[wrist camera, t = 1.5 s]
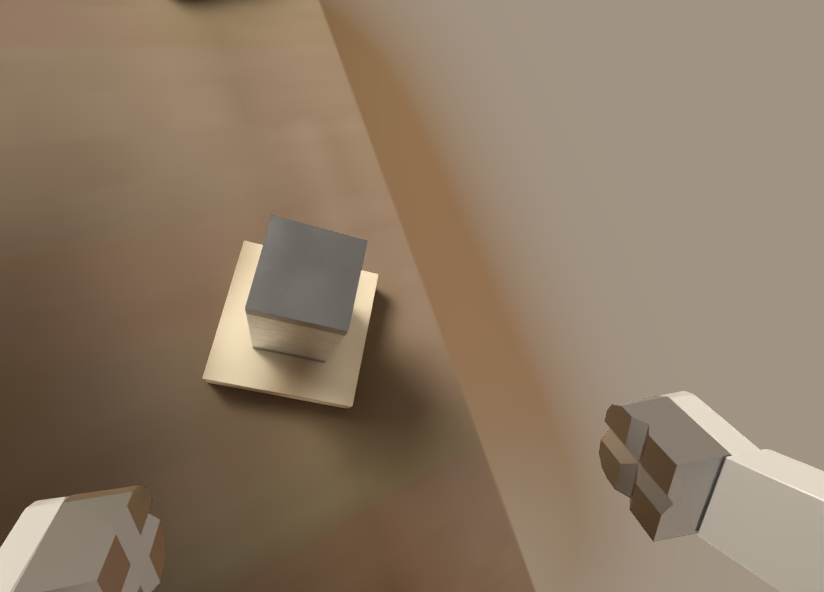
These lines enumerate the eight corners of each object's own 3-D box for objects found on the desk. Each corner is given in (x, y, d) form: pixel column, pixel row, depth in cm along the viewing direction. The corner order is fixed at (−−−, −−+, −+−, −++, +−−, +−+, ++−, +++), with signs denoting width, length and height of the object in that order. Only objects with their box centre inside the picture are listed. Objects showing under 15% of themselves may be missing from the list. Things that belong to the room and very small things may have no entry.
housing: (252, 348, 29) (244, 308, 19) (271, 281, 30) (271, 215, 21) (324, 363, 30) (348, 331, 20) (338, 297, 31) (367, 240, 22)
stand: (207, 382, 30) (202, 378, 27) (246, 254, 33) (244, 240, 30) (346, 408, 32) (352, 406, 29) (371, 285, 35) (378, 274, 32)
